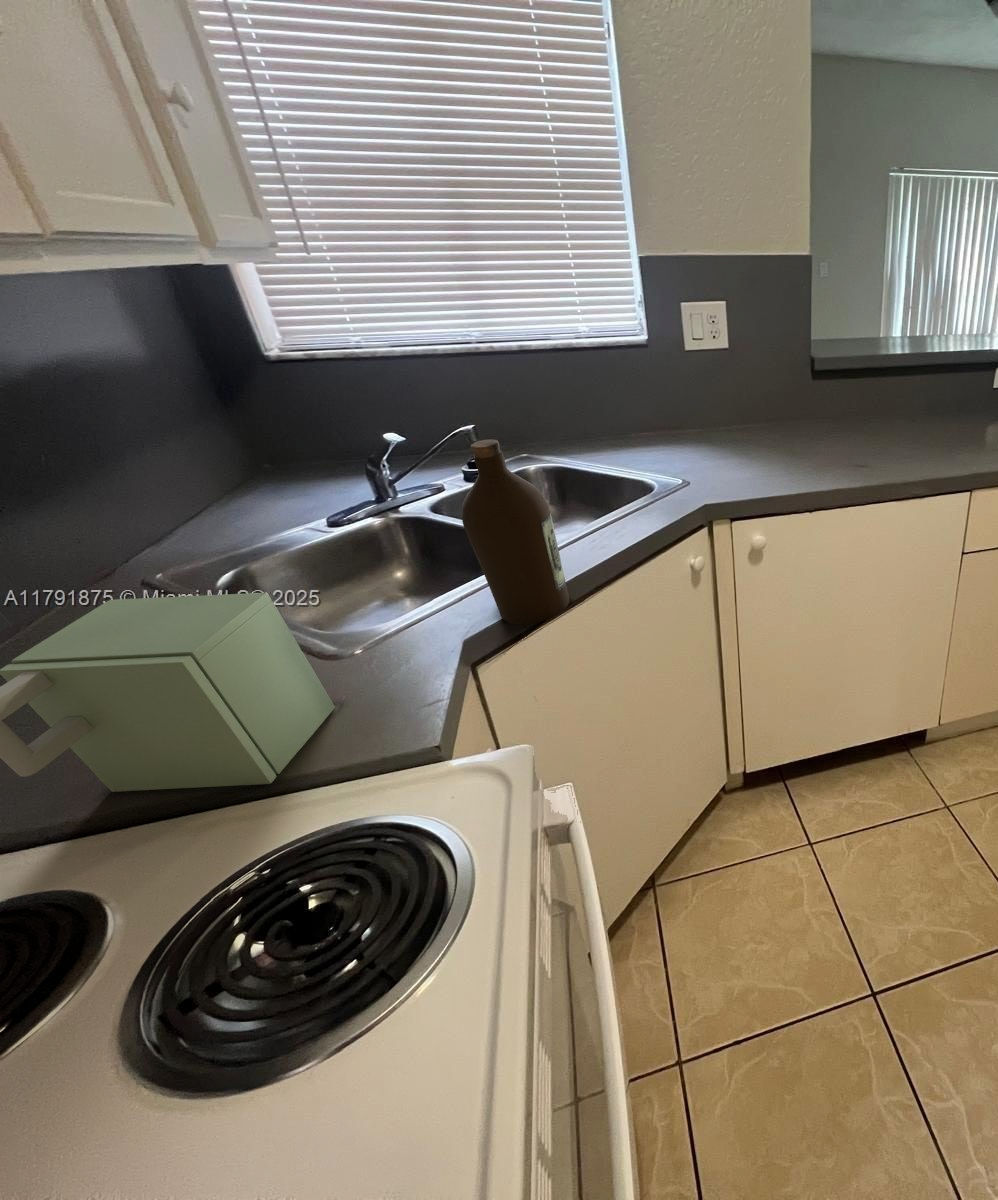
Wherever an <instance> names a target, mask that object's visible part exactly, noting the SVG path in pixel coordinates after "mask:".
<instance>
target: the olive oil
mask: <svg viewBox="0 0 998 1200" xmlns="http://www.w3.org/2000/svg"><path fill="white" fill-rule="evenodd" d="M500 447H501V446H500V443H499V441H498V440H497V439H483V440H478V441H475V442H473V443H471V445H470V448H471V451H472V453H473V460H474V463H475V466H476V470H477V472H478V476H477V477H476V480H475V481H474V482H473V484H472V486H471V488H470V489H469V491H468V492H467V494H466V496H465V498H464V499H463V502H462V506H461V522H462V526H463V528H464V531H465V533H466V536H467V538H468V540H469V543H470V545H471V547H472V549H473V553H474V554H475V556H476V559H477V561H478V564H479V566H480V568H481V570H482V573H483V576H484V578H485V580H486V582H487V585H488V587H489V591H490V592H491V594H492V597H493V599H494V602H495V605H496V607H497V610H498V612H499V615H500V617H501V619H502V620H503V621H505V623H509V624H512V625H520V626H521V625H522V626H523V625H533V624H537V623H541V622H544V621H547V620H550V619H552V618H555V616H557V615H559V614H560V613H562V612H563V611H564V610H565V609H566V608H568V605H569V604H570V594H569V591H568V587H567V582H566V578H565V573H564V569H563V564H562V560H561V555H560V550H559V545H558V542H557V537H556V533H555V532H556V531H555V525H554V522H553V517H552V512H551V508H550V505H549V503H548V501H547V500H546V498H545V496H544V495H543V493H542V492H541V491H540V489H539V488H538V487H536V486H535V485H534V484H532V483H531V482H529V481H527V480H526V479H524V478H522V477H520V476H519V475H517V474H515V473H514V472H512V471H511V470H509V469H508V467H507V463H506V460H505V456H504V452H503V451H502V450H501V448H500Z"/></svg>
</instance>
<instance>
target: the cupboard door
mask: <svg viewBox="0 0 998 1200" xmlns="http://www.w3.org/2000/svg"><path fill="white" fill-rule="evenodd" d="M0 676H1V677H2V678H3V679H4V680H5V681H6V683H4V684H2V685H0V759H1V760H2V761H3V762H4V763H5V764H6V765H7V766H8V767H9V768H10V769H11V770H12V771H13V772H15V774H16V775H18V776H19V777H21V778H22V777H23V778H27V777H30V776H32V775H35V774H36V773H38V772H40V771H41V770H43V769H44V768H45V767H47V766H48V765H49V764H50V763H52V762H53V761H55V759H57V758H58V757H60V756H61V755H62V754H63V753H64V752H66V751H67V750H68V749H70V750H72V752H73V753H74V754H75V755H76V756H77V757H78V758H79V759H80V760H81V761H82V762H83V763H84V764H85V765H86V766H87V767H88V768H89V769H90V770H91V772H92V773H93V774H94V775H95V776H96V777H97V778H98V779H99V781H101V782H102V783H103V784H104V785H105V786H106V788H107V789H108V790H109V791H110V792H111V793H115V792H131V791H132V792H133V791H134V792H136V791H153V790H154V791H155V790H171V789H172V790H174V789H175V790H176V789H193V788H212V787H213V788H214V787H216V788H217V787H233V786H235V787H236V786H255V785H256V786H257V785H271V784H272V783H273V782H274V781H275V779H276V778H277V774H275V773H274V772H273V770H272V769H271V767H270V766H269V765H268V763H267V762H266V760H265V759H264V758H263V756H262V755H261V753H260V752H259V751H258V749H257V748H256V747H255V745H254V744H253V742H252V741H251V740H250V738H249V737H248V735H247V734H246V733H245V731H244V730H243V728H242V727H241V726H240V724H239V723H238V721H237V720H236V719H235V717H234V716H233V714H232V713H231V712H230V710H229V709H228V707H227V706H226V705H225V703H224V702H223V701H222V699H221V698H220V696H219V695H218V694H217V692H216V691H215V689H214V688H213V687H212V685H211V684H210V682H209V681H208V680H207V678H206V677H205V675H204V674H203V673H202V671H201V670H200V668H199V667H198V666H197V664H196V663H195V662H194V660H193V659H192V657H191V656H174V657H153V658H132V659H110V660H89V661H68V662H47V663H26V664H13V663H9V664H7V665H5V666H4V667H1V668H0ZM26 704H28V705H29V706H30V708H31V709H33V711H35V713H36V714H37V715H38V716H39V717H40V718H41V719H42V720H43V721H44V723H46V724H47V725H48V726H49V727H50V728H48V730H46V731H45V732H43V733H42V734H41V735H39V736H38V737H37V738H35V739H33V741H31V742H30V743H29V744H26V742H24V740H22V739H21V738H20V737H19V736H18V735H17V734H16V733H15V732H14V731H13V730H12V729H11V728H10V727H9V726H8V725H7V724H6V723H5V722H4V721H3V720H4V719H6V718H7V717H9V716H10V715H12V714H13V713H15V712H16V711H18V710H19V709H21V708H22V707H24V706H26Z"/></svg>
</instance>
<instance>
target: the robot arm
mask: <svg viewBox="0 0 998 1200" xmlns="http://www.w3.org/2000/svg"><path fill="white" fill-rule="evenodd" d="M12 626H13V624H11V622H10V621H9V620H8V619H7V618H6V617H5V615H3V614H2V612H1V611H0V633H2V632H5V631H6V630H7V629H9V628H11V627H12Z"/></svg>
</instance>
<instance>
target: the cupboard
mask: <svg viewBox="0 0 998 1200" xmlns="http://www.w3.org/2000/svg"><path fill="white" fill-rule="evenodd" d="M280 613H281V612H279V610H278V608H277V606H276V604H275V603H274V602H273V600H272V598H271V597H270V595H269V594H268V592H251V593H250V592H249V593H248V592H247V593H230V594H209V595H208V594H207V595H187V596H186V595H185V596H164V597H141V598H121V599H119V598H118V599H109V600H107V601H105V602H104V603H102V604H100V605H98V606H97V607H95V608H94V609H93V610H91V611H89V612H88V613H86V614H84V615H83V616H81V617H80V618H77V619H76V620H74V621H73V622H71V623H70V624H68V625H66V626H65V627H63V628H62V629H59V630H58V631H57V632H55V633H53V634H52V635H50V636H49V637H47V638H45V639H43V640H42V641H41V642H38V643H37V644H36V645H34V646H33V647H31V648H29V649H28V650H26V651H24V652H23V653H21V654H20V655H18V656H16V657H14V658H13V659H11V661H10V662H11V664H26V663H47V662H68V661H89V660H110V659H132V658H153V657H174V656H191V657H192V659H193V660H194V662H195V663H196V664H197V666H198V667H199V668H200V670H201V671H202V673H203V674H204V675H205V677H206V678H207V680H208V681H209V682H210V684H211V685H212V687H213V688H214V689H215V691H216V692H217V694H218V695H219V696H220V698H221V699H222V701H223V702H224V703H225V705H226V706H227V707H228V709H229V710H230V712H231V713H232V714H233V716H234V717H235V719H236V720H237V721H238V723H239V724H240V726H241V727H242V728H243V730H244V731H245V733H246V734H247V735H248V737H249V738H250V740H251V741H252V742H253V744H254V745H255V747H256V748H257V749H258V751H259V752H260V753H261V755H262V756H263V758H264V759H265V760H266V762H267V763H268V765H269V766H270V767H271V769H272V770H273V772H274V773H275V774H276V775H280V773H282V771H283V770H284V769H285V768H286V766H287V765H288V764H289V763H290V762H291V761H292V760H293V758H294V757H295V756H296V755H297V754H298V752H299V751H300V750H301V749H302V747H303V746H304V745H305V744H306V743H307V742H308V740H309V739H310V738H311V737H312V736H313V735H314V733H316V731H317V730H318V729H319V728H320V726H321V725H322V724H323V723H324V722H325V720H326V719H327V718H328V717H329V716H330V714H331V713H332V712H333V711H334V710H335V709H336V706H335V705H334V703H333V701H332V699H331V698H330V696H329V694H328V693H327V691H326V689H325V688H324V686H323V684H322V683H321V680H320V679H319V677H318V675H317V674H316V672H315V671H314V669H313V668H312V665H311V664H310V662H309V661H308V659H307V658H306V656H305V654H304V651H302V649H301V646H300V645H299V643H298V642H297V640H296V638H295V637H294V635H293V633H292V632H291V630H290V628H289V627H288V625H287V623H286V622H285V620H284V618H283V617H282V615H281V614H280Z"/></svg>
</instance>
